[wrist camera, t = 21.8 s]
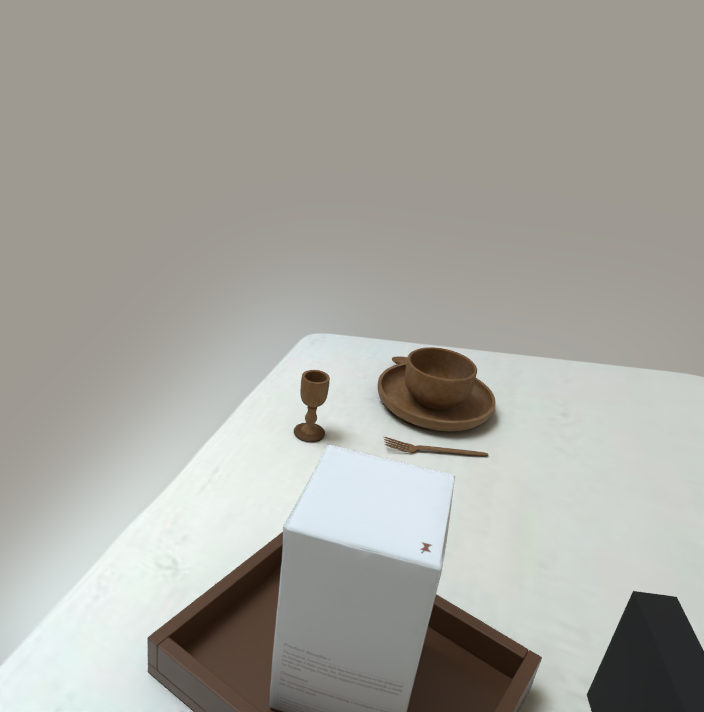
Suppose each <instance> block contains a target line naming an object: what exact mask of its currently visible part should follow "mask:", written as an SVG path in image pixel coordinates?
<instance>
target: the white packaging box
mask: <svg viewBox="0 0 704 712" xmlns="http://www.w3.org/2000/svg"><path fill="white" fill-rule="evenodd" d="M454 480H455V476H454V475H452V474H448V473H444V472H439V471H435V470H431V469H426V468H422V467H418V466H414V465H410V464H406V463H401V462H397V461H393V460H389V459H385V458H381V457H377V456H373V455H369V454H365V453H361V452H356V451H352V450H349V449H345V448H341V447H337V446H333V445H327V447H326V449H325V451H324V453H323V455H322V457H321V459H320V461H319V463H318V465H317V467H316V469H315V471H314V473H313V474H312V476H311V478H310V480H309V481H308V483H307V485H306V487H305V489H304V491H303V492H302V494H301V496H300V498H299V500H298V501H297V503H296V505H295V507H294V509H293V510H292V512H291V514H290V516H289V517H288V519H287V521H286V523H285V524H284V527H283V551H282V564H281V574H280V586H279V597H278V606H277V615H276V627H275V637H274V648H273V659H272V675H271V687H270V702H269V707H270V708H272V709H275V710H279V711H282V712H407V708H408V704H409V700H410V696H411V691H412V687H413V683H414V679H415V675H416V671H417V668H418V664H419V660H420V656H421V651H422V647H423V643H424V639H425V635H426V631H427V627H428V623H429V619H430V615H431V611H432V608H433V604H434V600H435V596H436V591H437V587H438V583H439V580H440V576H441V571H442V566H443V560H444V554H445V547H446V541H447V534H448V527H449V519H450V511H451V503H452V495H453V487H454Z"/></svg>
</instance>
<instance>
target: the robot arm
mask: <svg viewBox="0 0 704 712" xmlns="http://www.w3.org/2000/svg"><path fill="white" fill-rule="evenodd" d="M587 697H588V701H589V704H590V707H591V711H592V712H704V651H703V649H702V647H701V645H700V643H699V641H698V639H697V637H696V635H695V633H694V631H693V629H692V627H691V625H690V623H689V621H688V619H687V617H686V615H685V613H684V611H683V609H682V607H681V605H680V603H679V601H678V599H677V597H673V596H666V595H658V594H651V593H644V592H636V591H633V593H632V595H631V597H630V599H629V601H628V604H627V606H626V608H625V610H624V613H623V615H622V617H621V619H620V622H619V624H618V626H617V628H616V631H615V633H614V635H613V637H612V640H611V642H610V644H609V646H608V649H607V651H606V653H605V655H604V657H603V660H602V662H601V664H600V666H599V669H598V671H597V673H596V675H595V678H594V680H593V682H592V684H591V687H590V689H589V691H588V693H587Z"/></svg>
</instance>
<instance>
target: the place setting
mask: <svg viewBox="0 0 704 712" xmlns="http://www.w3.org/2000/svg"><path fill="white" fill-rule="evenodd" d="M392 361H393V362H395V363H396V364H398V365H395V366H392V367H390V368H388V369H386V370H385V371H384V372H383V373H382V374H381V375H380V377H379V380H378V392H379V396H380V398H381V400H382V402H383V403H384V404H385V406H386V407H387V408H388V409H389V410H390V411H391V412H393V413H394V414H395V415H397V416H398V417H400V418H401V419H403V420H405V421H407V422H409V423H412V424H414V425H417V426H420V427H423V428H427V429H432V430H438V431H463V430H468V429H472V428H475V427H477V426H479V425H481V424H483V423H484V422H485V421H487V420H488V419H489V417H490V416H491V415H492V413H493V411H494V408H495V397H494V395H493V393H492V391H491V390H490V389H489V388H488V387H487V386H486V385H485V384H484V383H483V382H481V381H480V380H478V379H477V378H476V374H477V368H476V366H475V364H474V363H473V362H472V361H471V360H470V359H469V358H467V357H465V356H464V355H462V354H459V353H457V352H454V351H451V350H447V349H442V348H421V349H417V350H415V351H413V352H411V353H410V354H409V356H408V358H407V357H393V358H392ZM329 380H330V377H329V375H328V374H326V373H325V372H322V371H319V370H309V371H306V372H304V373H303V374H302V380H301V399H302V401H303V403H304V404H306V405H307V406H308V412H307V414H306V416H305V420H306V422H307V423H301V424H299V425H297V426H296V427H295V428H294V434H295V435H296V437H298V438H299V439H301V440H304V441H309V442H314V441H318V440H321V439H322V438H323V437H324V435H325V431H324V429H323V428H322V427H321V426H319V425H317V424H314V423H315V422H316V420H317V415H316V410H317V407H319V406H321V405H322V404H323V403H324V402H325V400H326V398H327V394H328V389H329ZM384 438H387V437H384ZM387 439H389V440H386V439H384V440H386V441H389V442H391V443H389V442H386V443H388V444H391V445H393V446H391V445H388V444H385V445H387V446H390V447H393V448H396V449H399V450H402V451H405V452H410V453H412V452H415V451H417V450H420V449H423V450H432V451H441V452H449V453H458V454H467V455H478V456H488V453H484V452H476V451H468V450H459V449H450V448H440V447H431V446H414V445H412V444H407V443H404V442H400V441H397V440H394V439H391V438H387ZM390 440H392V441H390ZM393 441H395V442H393ZM396 442H398V443H396ZM392 443H394V444H392ZM399 443H401V444H399ZM396 444H397V445H396ZM403 444H405V445H403ZM399 445H400V446H399ZM406 445H408V446H406ZM395 446H396V447H395ZM402 446H404V447H402ZM398 447H399V448H398ZM405 447H407V448H405ZM401 448H403V449H401ZM404 449H406V450H404ZM408 450H410V451H408Z"/></svg>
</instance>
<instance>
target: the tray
mask: <svg viewBox="0 0 704 712" xmlns="http://www.w3.org/2000/svg"><path fill="white" fill-rule="evenodd" d="M282 551H283V532H282V533H281V534H279V535H278V536H277V537H276V538H274V539H273V540H272V541H270V542H269V543H268V544H267V545H265V546H264V547H263V548H261V549H260V550H259V551H258V552H256V553H255V554H254V555H253V556H251V557H250V558H249V559H247V560H246V561H245V562H244V563H242V564H241V565H240V566H238V567H237V568H236V569H235V570H233V571H232V572H231V573H230V574H228V575H227V576H226V577H224V578H223V579H222V580H221V581H219V582H218V583H217V584H215V585H214V586H213V587H212V588H210V589H209V590H208V591H207V592H205V593H204V594H203V595H201V596H200V597H199V598H198V599H196V600H195V601H194V602H192V603H191V604H190V605H189V606H187V607H186V608H185V609H183V610H182V611H181V612H180V613H178V614H177V615H176V616H175V617H173V618H172V619H171V620H169V621H168V622H167V623H166V624H164V625H163V626H162V627H160V628H159V629H158V630H157V631H155V632H154V633H153V634H152V635H150V636H149V637H148V672H149V673H150V674H151V675H152V676H154V677H155V678H156V679H157V680H158V681H159V682H161V683H162V684H163V685H164V686H165V687H166V688H168V689H169V690H170V691H171V692H172V693H173V694H174V695H176V696H177V697H178V698H179V699H180V700H181V701H183V702H184V703H185V704H186V705H187V706H188V707H190V708H191V709H192V710H193V711H194V712H282V711H279V710H275V709H272V708H270V707H269V702H270V687H271V675H272V659H273V648H274V637H275V627H276V615H277V606H278V597H279V586H280V574H281V564H282ZM541 659H542V657H540V656H539V655H537V654H535V653H534V652H532V651H530V650H529V651H528V649H527V648H525V647H524V646H522V645H520V644H519V643H517V642H515V641H514V640H512V639H510V638H508V637H507V636H505V635H503V634H502V633H500V632H498V631H497V630H495V629H493V628H492V627H490V626H488V625H487V624H485V623H483V622H482V621H480V620H478V619H477V618H475V617H473V616H472V615H470V614H468V613H467V612H465V611H463V610H462V609H460V608H458V607H457V606H455V605H453V604H452V603H450V602H448V601H447V600H445V599H443V598H442V597H440V596H438V595H437V594H436V596H435V600H434V604H433V608H432V611H431V615H430V619H429V623H428V627H427V631H426V635H425V639H424V643H423V647H422V651H421V656H420V660H419V664H418V668H417V671H416V675H415V679H414V683H413V687H412V691H411V696H410V700H409V704H408V708H407V712H518V711H519V709H520V707H521V706H522V704H523V702H524V700H525V698H526V696H527V694H528V692H529V690H530V688H531V686H532V683H533V680H534V678H535V675H536V672H537V670H538V667H539V664H540V662H541Z"/></svg>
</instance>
